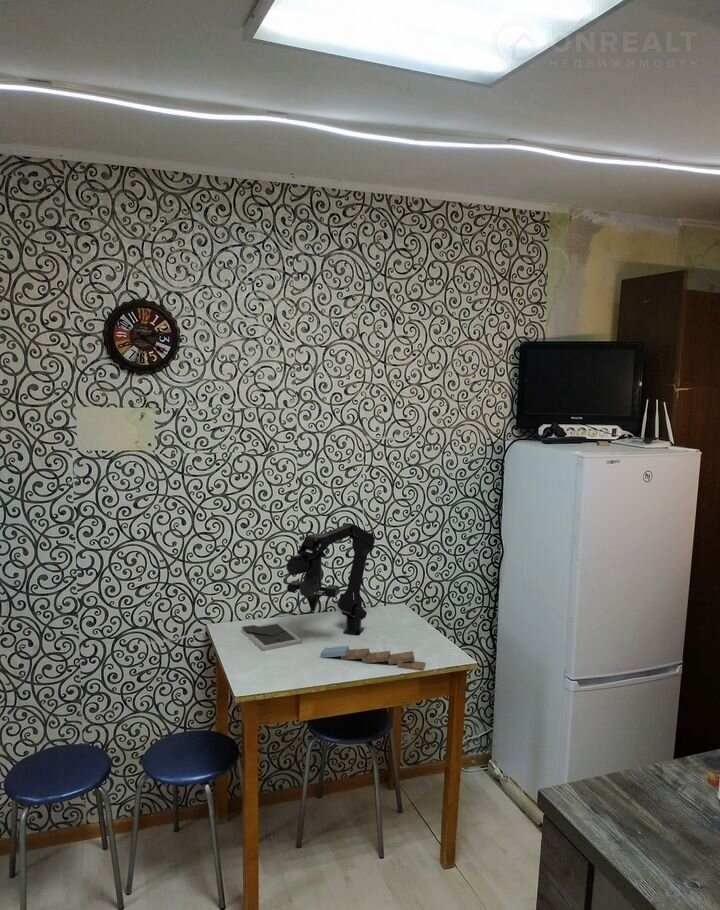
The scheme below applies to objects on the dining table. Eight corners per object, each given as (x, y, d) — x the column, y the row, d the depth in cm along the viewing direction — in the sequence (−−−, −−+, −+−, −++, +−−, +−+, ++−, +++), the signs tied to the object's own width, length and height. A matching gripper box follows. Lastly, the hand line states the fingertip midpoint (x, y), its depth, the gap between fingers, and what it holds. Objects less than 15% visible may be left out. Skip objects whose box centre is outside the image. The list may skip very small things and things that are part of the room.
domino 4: (388, 660, 243) (413, 656, 243) (387, 655, 248) (413, 650, 248) (388, 664, 243) (414, 660, 243) (388, 659, 248) (413, 655, 248)
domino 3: (362, 658, 245) (387, 656, 243) (365, 653, 250) (389, 650, 248) (362, 663, 245) (387, 660, 243) (366, 657, 250) (390, 655, 248)
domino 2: (340, 655, 247) (365, 653, 245) (345, 649, 252) (369, 648, 249) (341, 659, 247) (365, 658, 245) (346, 654, 252) (369, 652, 249)
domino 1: (320, 653, 249) (344, 651, 246) (325, 648, 253) (348, 645, 251) (321, 657, 249) (345, 655, 246) (325, 652, 254) (349, 650, 251)
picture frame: (241, 633, 271) (262, 653, 253) (241, 626, 271) (262, 645, 253) (279, 627, 279) (302, 645, 261) (279, 620, 279) (302, 637, 261)
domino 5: (397, 664, 242) (423, 668, 240) (400, 659, 247) (425, 662, 244) (397, 669, 242) (423, 672, 240) (400, 663, 247) (425, 666, 245)
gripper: (280, 573, 251) (280, 615, 253) (330, 579, 246) (329, 622, 247) (293, 565, 262) (292, 605, 263) (340, 570, 256) (339, 611, 258)
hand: (313, 611), depth 258 cm, fingers closed
